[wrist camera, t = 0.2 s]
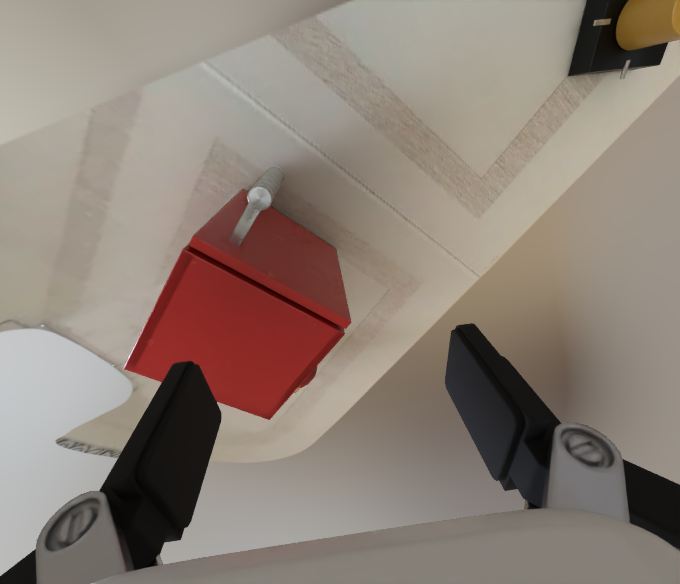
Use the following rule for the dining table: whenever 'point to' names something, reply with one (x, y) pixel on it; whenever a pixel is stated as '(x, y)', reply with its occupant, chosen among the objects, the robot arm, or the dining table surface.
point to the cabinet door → (276, 250)
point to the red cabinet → (232, 335)
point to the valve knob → (648, 23)
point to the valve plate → (608, 43)
